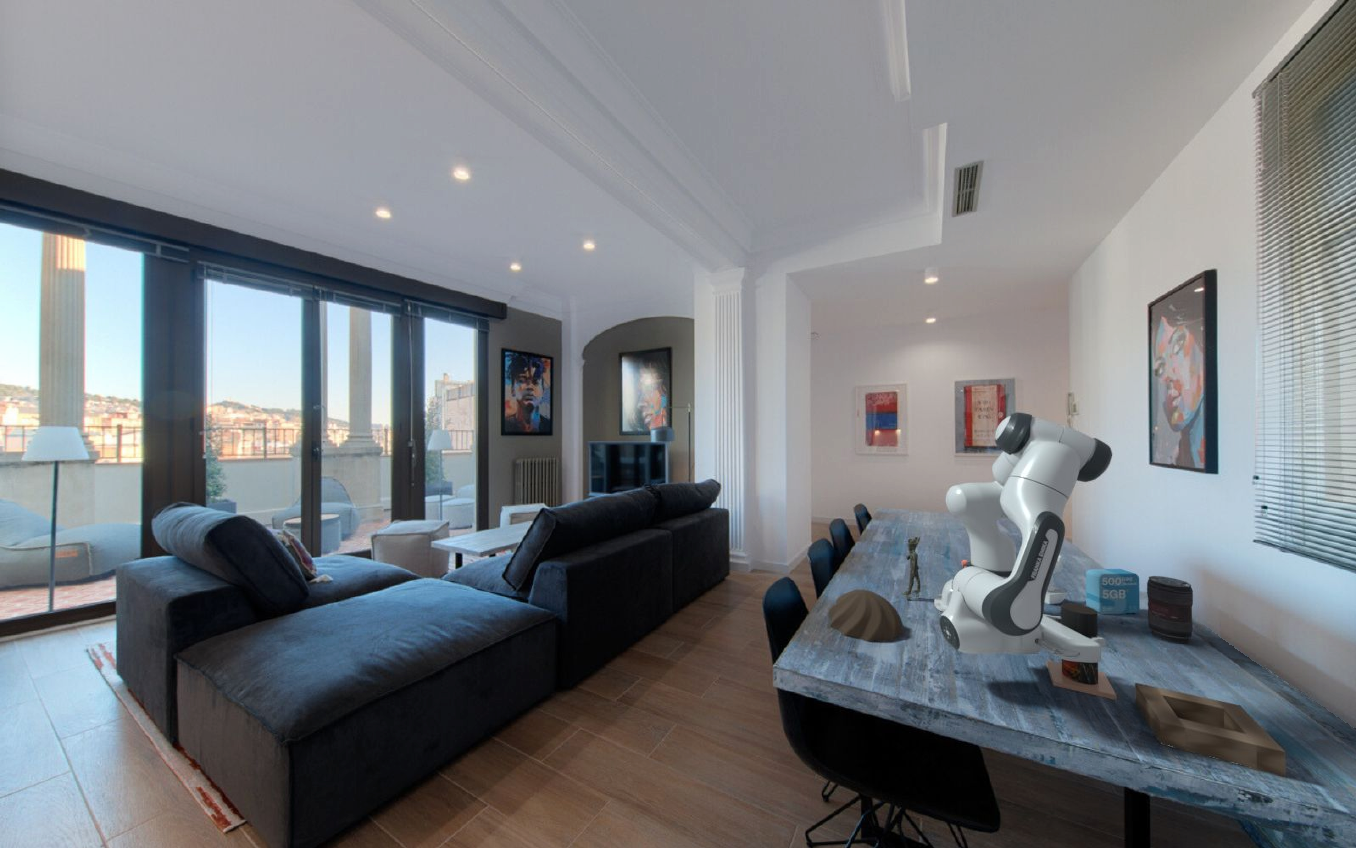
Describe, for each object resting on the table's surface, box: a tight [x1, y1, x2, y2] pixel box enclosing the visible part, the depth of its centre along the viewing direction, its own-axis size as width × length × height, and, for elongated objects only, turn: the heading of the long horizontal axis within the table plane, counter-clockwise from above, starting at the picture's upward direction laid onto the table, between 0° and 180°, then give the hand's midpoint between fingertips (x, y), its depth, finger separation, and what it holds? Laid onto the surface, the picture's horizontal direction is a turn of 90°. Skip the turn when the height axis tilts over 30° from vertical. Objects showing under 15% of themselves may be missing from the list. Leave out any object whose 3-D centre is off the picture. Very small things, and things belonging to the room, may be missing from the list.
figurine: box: [1044, 554, 1070, 605], centre depth 142 cm, size 7×9×15 cm
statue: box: [901, 536, 921, 601], centre depth 146 cm, size 5×6×20 cm
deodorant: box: [1060, 602, 1099, 685], centre depth 98 cm, size 6×6×15 cm
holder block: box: [1134, 682, 1287, 778], centre depth 81 cm, size 14×14×4 cm
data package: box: [1085, 568, 1141, 615], centre depth 134 cm, size 12×4×12 cm, turn 90°
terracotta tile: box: [1045, 659, 1118, 701], centre depth 98 cm, size 10×10×1 cm
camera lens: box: [1146, 575, 1194, 644], centre depth 117 cm, size 8×8×15 cm
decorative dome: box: [828, 589, 904, 643], centre depth 127 cm, size 19×20×10 cm
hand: (1082, 630), depth 98 cm, fingers open, 8 cm apart
